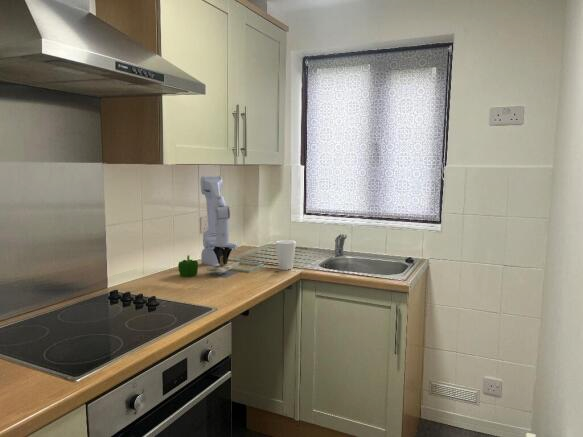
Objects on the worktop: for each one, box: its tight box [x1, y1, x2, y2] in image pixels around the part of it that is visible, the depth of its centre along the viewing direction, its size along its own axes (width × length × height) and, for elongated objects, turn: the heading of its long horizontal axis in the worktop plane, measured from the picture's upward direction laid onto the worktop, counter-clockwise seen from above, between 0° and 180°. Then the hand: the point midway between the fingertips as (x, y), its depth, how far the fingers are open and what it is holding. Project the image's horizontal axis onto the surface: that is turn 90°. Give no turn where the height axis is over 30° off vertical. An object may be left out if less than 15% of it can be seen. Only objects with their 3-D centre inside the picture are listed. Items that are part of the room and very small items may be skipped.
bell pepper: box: [178, 255, 199, 278], centre depth 195 cm, size 8×8×10 cm
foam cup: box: [275, 239, 297, 271], centre depth 213 cm, size 10×9×13 cm
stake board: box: [204, 267, 240, 279], centre depth 198 cm, size 11×11×4 cm
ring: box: [206, 256, 233, 272], centre depth 198 cm, size 8×8×5 cm
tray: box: [228, 261, 265, 273], centre depth 210 cm, size 14×14×2 cm
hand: (222, 263), depth 200 cm, fingers closed on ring
